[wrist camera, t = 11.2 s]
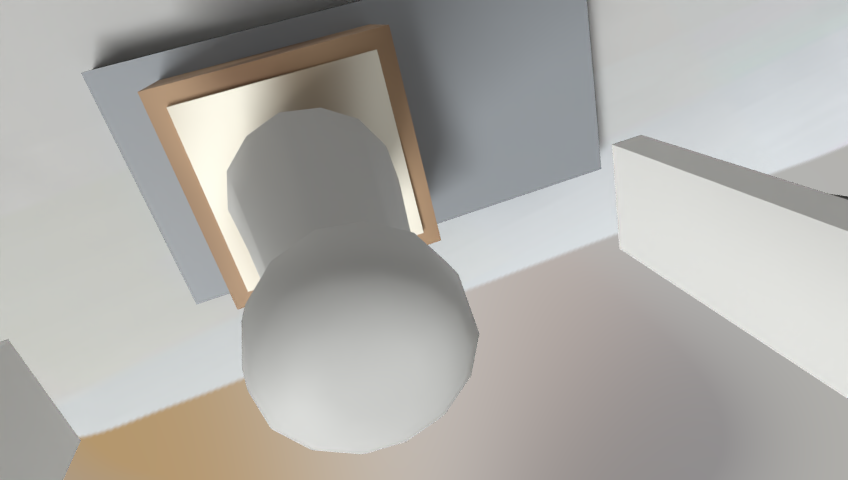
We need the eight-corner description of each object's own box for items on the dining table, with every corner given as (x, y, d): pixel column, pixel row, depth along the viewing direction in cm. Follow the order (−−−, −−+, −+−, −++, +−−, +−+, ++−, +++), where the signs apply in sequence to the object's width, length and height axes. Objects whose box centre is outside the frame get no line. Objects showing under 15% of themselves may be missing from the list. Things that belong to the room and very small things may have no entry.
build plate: (564, -53, 25) (581, -57, 24) (586, 162, 30) (601, 168, 29) (91, 69, 22) (81, 72, 21) (199, 290, 27) (196, 304, 25)
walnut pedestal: (369, 24, 23) (390, 24, 19) (417, 211, 27) (442, 242, 23) (158, 80, 21) (135, 92, 18) (241, 268, 25) (237, 311, 22)
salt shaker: (196, 181, 19) (94, 421, 8) (301, 63, 19) (362, 130, 7) (318, 271, 22) (380, 552, 10) (413, 170, 21) (591, 345, 10)
